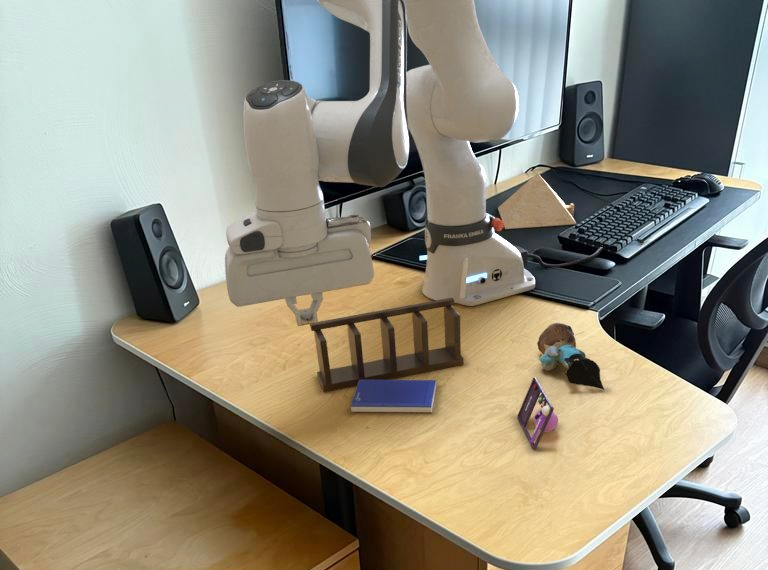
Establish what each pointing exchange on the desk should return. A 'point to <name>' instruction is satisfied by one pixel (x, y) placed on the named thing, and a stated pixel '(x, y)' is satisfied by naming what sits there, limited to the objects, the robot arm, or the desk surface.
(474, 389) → the desk surface
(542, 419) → the purple toy package
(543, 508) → the desk surface
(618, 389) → the desk surface
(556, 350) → the figurine
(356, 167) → the robot arm
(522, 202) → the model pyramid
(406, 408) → the hard drive
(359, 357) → the letter rack
